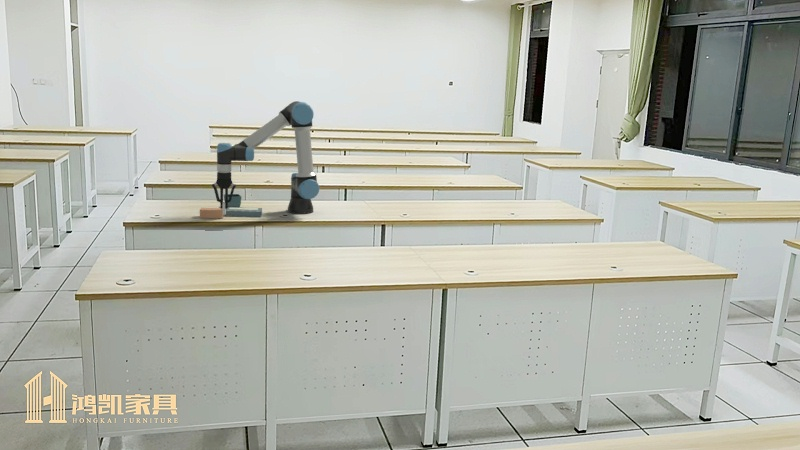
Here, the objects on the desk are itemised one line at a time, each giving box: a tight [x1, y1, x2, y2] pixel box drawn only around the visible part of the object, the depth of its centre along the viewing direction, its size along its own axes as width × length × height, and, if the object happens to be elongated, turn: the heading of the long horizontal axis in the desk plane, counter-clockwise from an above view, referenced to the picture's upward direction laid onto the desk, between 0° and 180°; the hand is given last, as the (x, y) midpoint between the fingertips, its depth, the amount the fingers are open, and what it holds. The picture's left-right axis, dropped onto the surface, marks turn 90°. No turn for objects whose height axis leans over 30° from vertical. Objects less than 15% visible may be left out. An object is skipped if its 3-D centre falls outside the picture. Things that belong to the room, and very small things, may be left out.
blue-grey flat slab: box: [218, 206, 263, 218], centre depth 381 cm, size 24×11×3 cm, turn 98°
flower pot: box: [223, 193, 243, 207], centre depth 390 cm, size 9×9×9 cm
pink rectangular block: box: [199, 207, 225, 219], centre depth 370 cm, size 12×6×5 cm, turn 98°
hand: (224, 214), depth 369 cm, fingers closed
